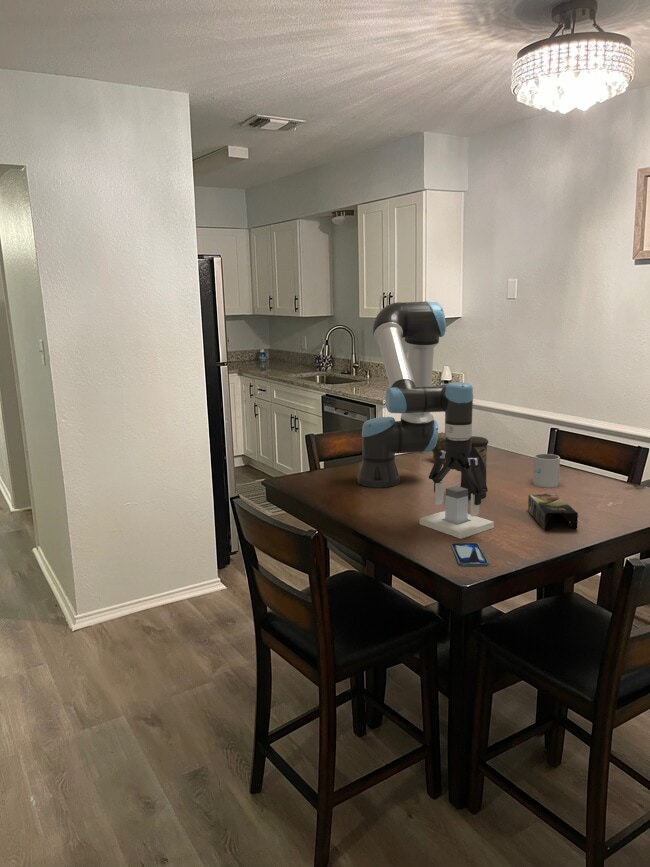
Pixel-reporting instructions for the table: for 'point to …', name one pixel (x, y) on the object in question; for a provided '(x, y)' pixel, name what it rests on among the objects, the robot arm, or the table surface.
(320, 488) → the table surface
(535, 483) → the mug
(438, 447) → the brown rounded lump
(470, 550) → the smartphone
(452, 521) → the plug
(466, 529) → the socket
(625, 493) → the table surface
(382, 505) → the table surface
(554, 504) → the juice carton
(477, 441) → the container
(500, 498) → the table surface
